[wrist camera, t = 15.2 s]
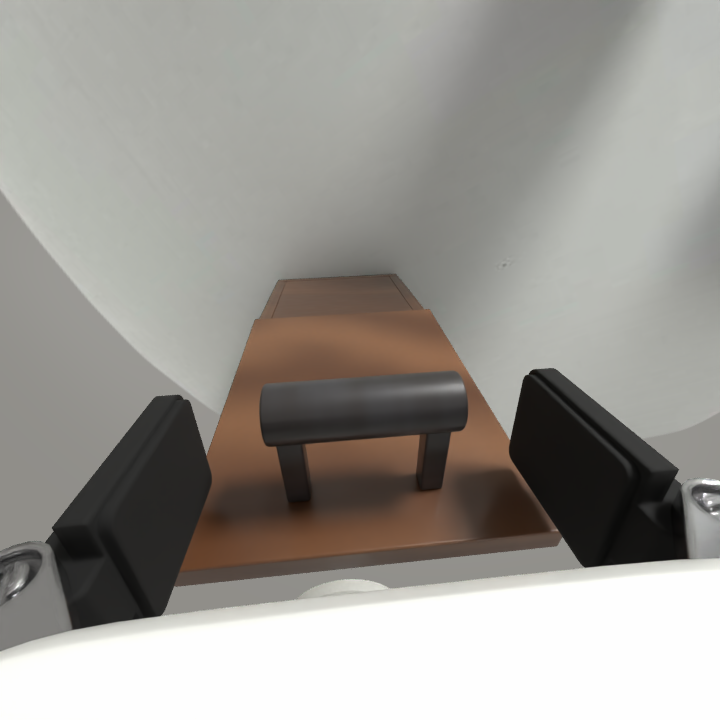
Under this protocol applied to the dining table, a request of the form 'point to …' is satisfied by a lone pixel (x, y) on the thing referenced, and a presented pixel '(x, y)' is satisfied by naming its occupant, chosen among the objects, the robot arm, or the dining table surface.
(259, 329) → the lid
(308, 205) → the dining table surface
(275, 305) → the chest
